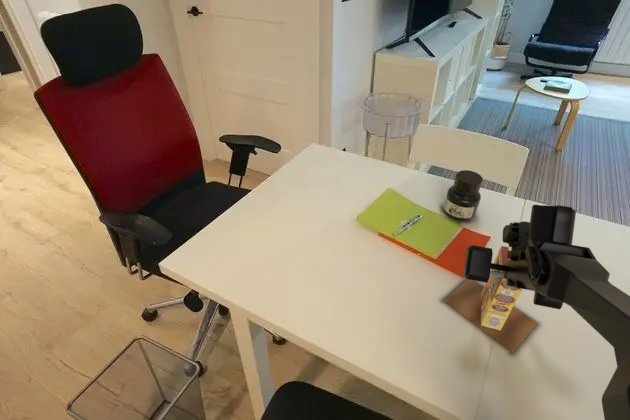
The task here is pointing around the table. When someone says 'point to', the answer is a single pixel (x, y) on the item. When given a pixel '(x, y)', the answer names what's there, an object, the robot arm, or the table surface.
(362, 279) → the table surface
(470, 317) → the cork mat
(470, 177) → the ink bottle
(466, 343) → the table surface
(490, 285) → the candy box
